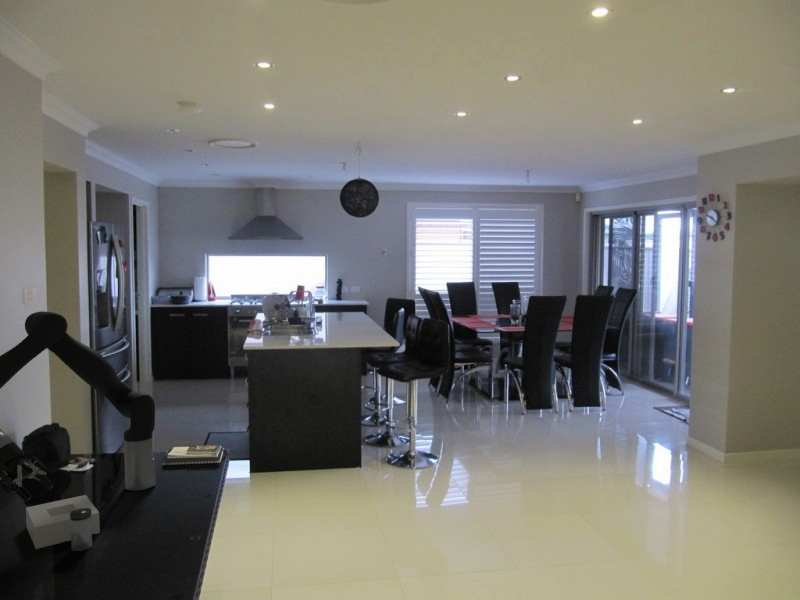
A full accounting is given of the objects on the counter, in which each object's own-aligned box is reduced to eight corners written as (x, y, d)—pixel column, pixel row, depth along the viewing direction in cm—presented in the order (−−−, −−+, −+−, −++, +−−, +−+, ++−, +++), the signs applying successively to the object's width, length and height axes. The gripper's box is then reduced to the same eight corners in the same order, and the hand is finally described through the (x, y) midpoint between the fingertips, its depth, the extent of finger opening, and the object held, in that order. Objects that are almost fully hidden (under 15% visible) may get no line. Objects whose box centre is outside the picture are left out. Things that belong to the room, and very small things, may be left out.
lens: (90, 541, 170) (89, 506, 169) (94, 548, 166) (93, 512, 165) (69, 547, 167) (68, 511, 166) (73, 553, 163) (71, 517, 162)
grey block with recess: (86, 513, 189) (85, 494, 189) (99, 532, 175) (99, 512, 175) (26, 527, 180) (25, 507, 179) (35, 549, 165) (35, 527, 165)
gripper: (-12, 449, 160) (30, 493, 159) (27, 434, 174) (66, 475, 173) (-29, 468, 161) (12, 512, 160) (11, 452, 175) (49, 493, 174)
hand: (40, 493), depth 167 cm, fingers open, 8 cm apart
